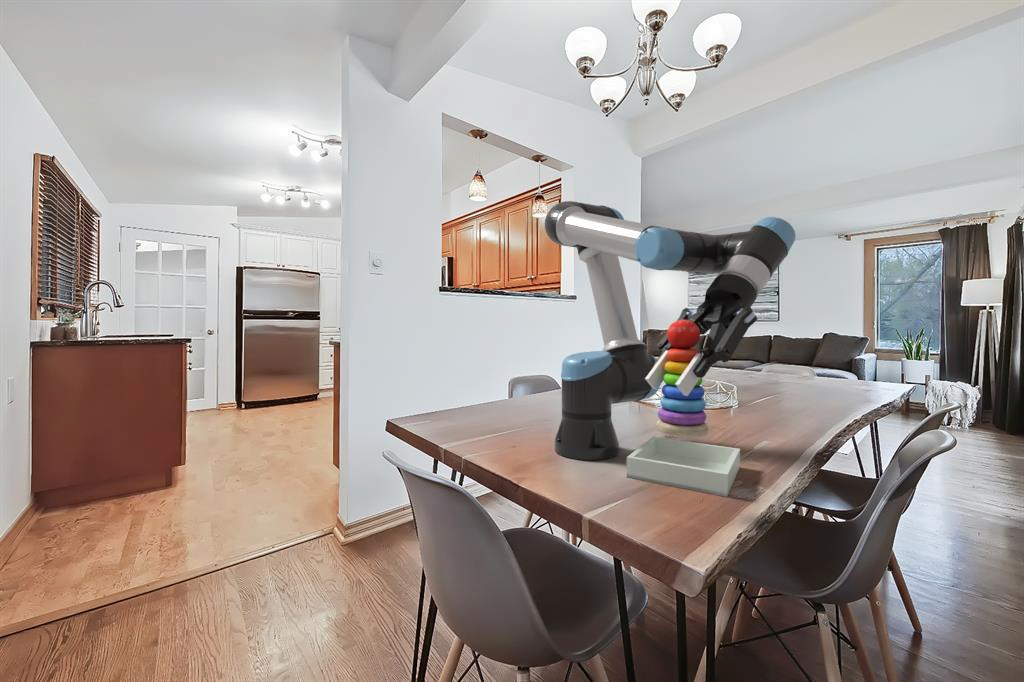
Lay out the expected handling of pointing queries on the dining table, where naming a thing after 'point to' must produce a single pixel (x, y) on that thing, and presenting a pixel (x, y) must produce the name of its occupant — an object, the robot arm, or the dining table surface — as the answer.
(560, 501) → the dining table surface
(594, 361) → the robot arm
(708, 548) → the dining table surface
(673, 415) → the stacking toy
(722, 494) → the tray
